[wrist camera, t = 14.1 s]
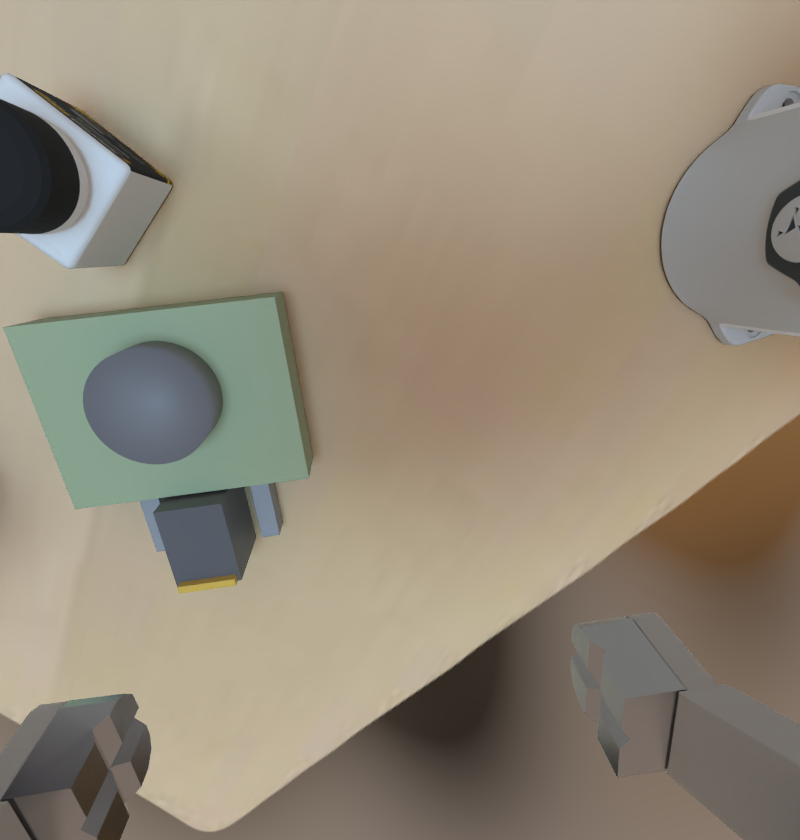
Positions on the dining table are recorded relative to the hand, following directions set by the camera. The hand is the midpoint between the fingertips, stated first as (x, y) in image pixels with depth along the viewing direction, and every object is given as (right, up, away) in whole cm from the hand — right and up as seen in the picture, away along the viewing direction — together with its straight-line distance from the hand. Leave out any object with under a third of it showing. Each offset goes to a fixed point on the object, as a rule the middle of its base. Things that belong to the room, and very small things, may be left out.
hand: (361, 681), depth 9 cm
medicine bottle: (-20, +21, +24) cm, 38 cm away
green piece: (-16, +4, +30) cm, 34 cm away
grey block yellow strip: (-15, -3, +33) cm, 37 cm away
